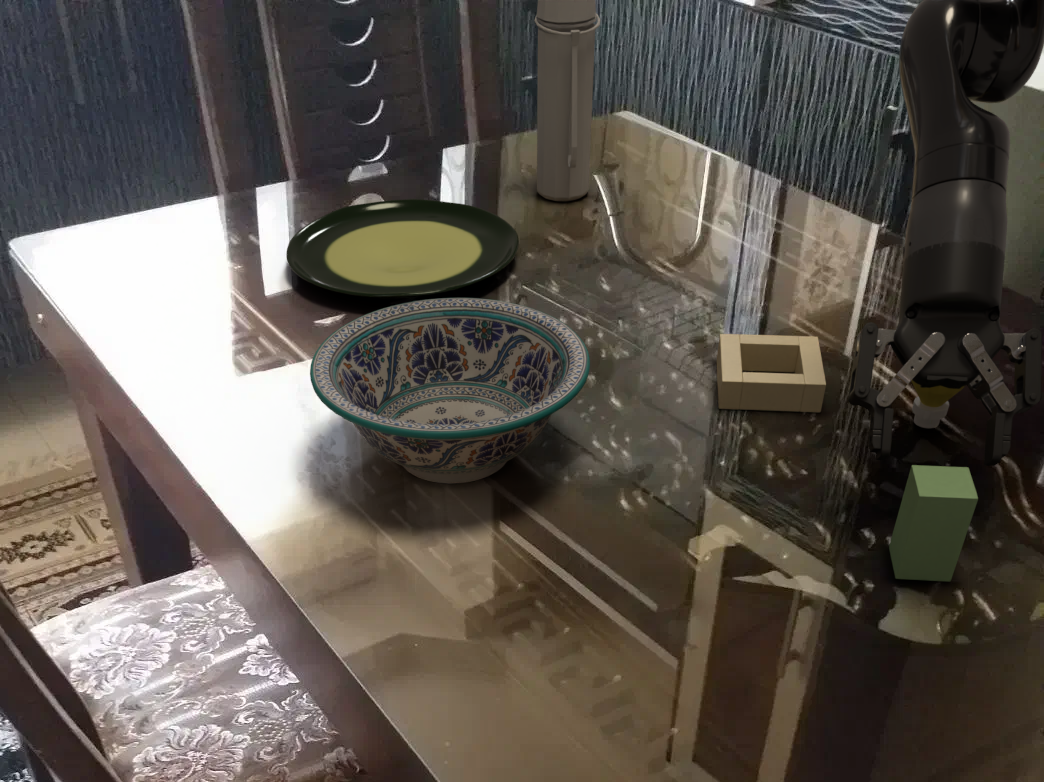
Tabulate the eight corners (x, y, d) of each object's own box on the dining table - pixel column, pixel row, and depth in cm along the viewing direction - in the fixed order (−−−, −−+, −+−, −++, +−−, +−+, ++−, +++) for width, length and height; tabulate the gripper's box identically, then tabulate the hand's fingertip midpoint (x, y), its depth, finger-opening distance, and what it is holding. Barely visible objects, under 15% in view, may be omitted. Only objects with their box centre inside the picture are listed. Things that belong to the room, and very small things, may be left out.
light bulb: (888, 435, 109) (913, 334, 102) (892, 400, 114) (917, 302, 107) (961, 444, 108) (993, 343, 101) (963, 409, 112) (993, 310, 105)
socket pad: (812, 363, 119) (818, 336, 117) (820, 412, 112) (826, 384, 110) (716, 360, 120) (719, 333, 118) (718, 409, 114) (722, 381, 111)
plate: (243, 263, 140) (239, 242, 139) (419, 199, 153) (417, 180, 151) (384, 339, 126) (382, 317, 124) (566, 262, 138) (567, 241, 136)
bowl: (272, 448, 111) (255, 355, 104) (471, 363, 121) (468, 273, 114) (432, 566, 97) (425, 467, 90) (641, 457, 108) (649, 362, 101)
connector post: (942, 549, 97) (968, 467, 91) (950, 581, 94) (978, 498, 88) (888, 547, 97) (911, 464, 91) (895, 579, 94) (919, 495, 88)
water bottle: (528, 186, 155) (528, -33, 137) (584, 180, 156) (592, -38, 138) (543, 212, 149) (545, -14, 131) (601, 206, 150) (612, -19, 132)
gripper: (872, 234, 88) (856, 445, 89) (1065, 239, 87) (1048, 454, 87) (851, 273, 96) (836, 468, 96) (1029, 278, 94) (1013, 476, 95)
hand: (937, 461), depth 92 cm, fingers open, 8 cm apart
